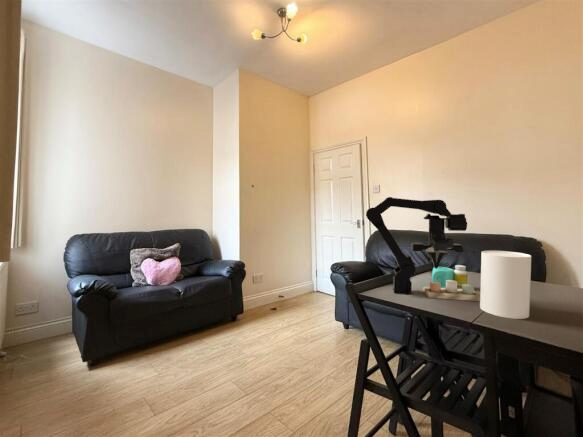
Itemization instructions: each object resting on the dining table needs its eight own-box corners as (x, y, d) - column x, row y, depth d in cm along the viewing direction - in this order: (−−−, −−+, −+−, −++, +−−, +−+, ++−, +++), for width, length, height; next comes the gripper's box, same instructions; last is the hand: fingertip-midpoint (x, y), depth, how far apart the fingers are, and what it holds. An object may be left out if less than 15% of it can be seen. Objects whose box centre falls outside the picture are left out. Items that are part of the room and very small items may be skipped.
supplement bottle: (469, 289, 120) (469, 267, 120) (455, 289, 122) (456, 266, 121) (463, 286, 126) (464, 264, 125) (450, 285, 127) (451, 264, 126)
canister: (503, 303, 104) (504, 250, 103) (540, 317, 90) (542, 256, 89) (470, 305, 102) (472, 251, 101) (503, 320, 88) (505, 257, 88)
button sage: (464, 296, 110) (464, 286, 110) (460, 293, 114) (460, 283, 114) (475, 297, 109) (475, 287, 109) (471, 294, 113) (471, 284, 113)
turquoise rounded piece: (431, 286, 125) (432, 269, 125) (433, 282, 132) (433, 266, 132) (452, 289, 121) (452, 271, 121) (452, 285, 128) (453, 268, 127)
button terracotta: (430, 294, 113) (431, 284, 113) (428, 291, 117) (428, 281, 117) (441, 294, 112) (442, 285, 112) (439, 291, 116) (439, 282, 116)
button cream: (447, 292, 111) (447, 282, 111) (444, 289, 115) (444, 279, 115) (458, 292, 110) (458, 282, 110) (455, 289, 114) (455, 280, 114)
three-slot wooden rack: (428, 297, 110) (428, 293, 110) (423, 290, 120) (423, 286, 120) (482, 301, 106) (483, 297, 106) (472, 293, 115) (473, 289, 115)
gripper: (415, 231, 108) (415, 271, 108) (469, 232, 103) (468, 274, 104) (410, 229, 118) (410, 265, 119) (459, 230, 114) (458, 267, 114)
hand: (435, 268), depth 114 cm, fingers closed
